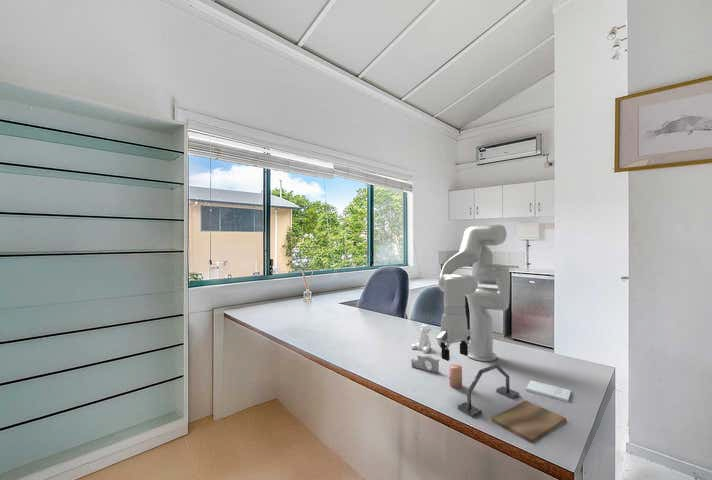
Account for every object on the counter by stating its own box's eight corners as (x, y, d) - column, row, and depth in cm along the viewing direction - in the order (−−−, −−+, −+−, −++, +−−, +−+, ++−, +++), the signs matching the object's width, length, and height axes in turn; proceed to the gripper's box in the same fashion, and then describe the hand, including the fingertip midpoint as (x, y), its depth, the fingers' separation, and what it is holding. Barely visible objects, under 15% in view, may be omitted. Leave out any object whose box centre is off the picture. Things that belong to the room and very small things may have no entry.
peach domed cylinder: (447, 384, 116) (446, 366, 116) (455, 381, 119) (455, 363, 119) (456, 389, 113) (456, 370, 112) (464, 386, 115) (464, 367, 115)
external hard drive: (531, 384, 117) (571, 394, 109) (526, 392, 111) (568, 404, 103) (531, 379, 117) (571, 389, 109) (525, 387, 111) (568, 399, 103)
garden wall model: (410, 366, 133) (410, 352, 133) (412, 365, 135) (412, 351, 135) (438, 373, 126) (438, 358, 126) (439, 371, 128) (439, 357, 128)
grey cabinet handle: (457, 408, 100) (456, 372, 100) (503, 388, 112) (502, 356, 112) (473, 417, 95) (472, 379, 95) (519, 395, 107) (518, 361, 107)
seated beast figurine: (410, 348, 155) (409, 324, 155) (420, 344, 161) (420, 321, 161) (426, 353, 148) (425, 328, 148) (436, 349, 154) (436, 324, 154)
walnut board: (491, 420, 93) (491, 417, 93) (525, 403, 102) (525, 400, 102) (531, 443, 83) (531, 439, 83) (566, 421, 92) (566, 417, 92)
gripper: (462, 306, 123) (462, 350, 123) (429, 311, 114) (430, 358, 114) (478, 309, 117) (478, 355, 116) (445, 314, 108) (446, 365, 107)
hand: (454, 357), depth 115 cm, fingers open, 9 cm apart
